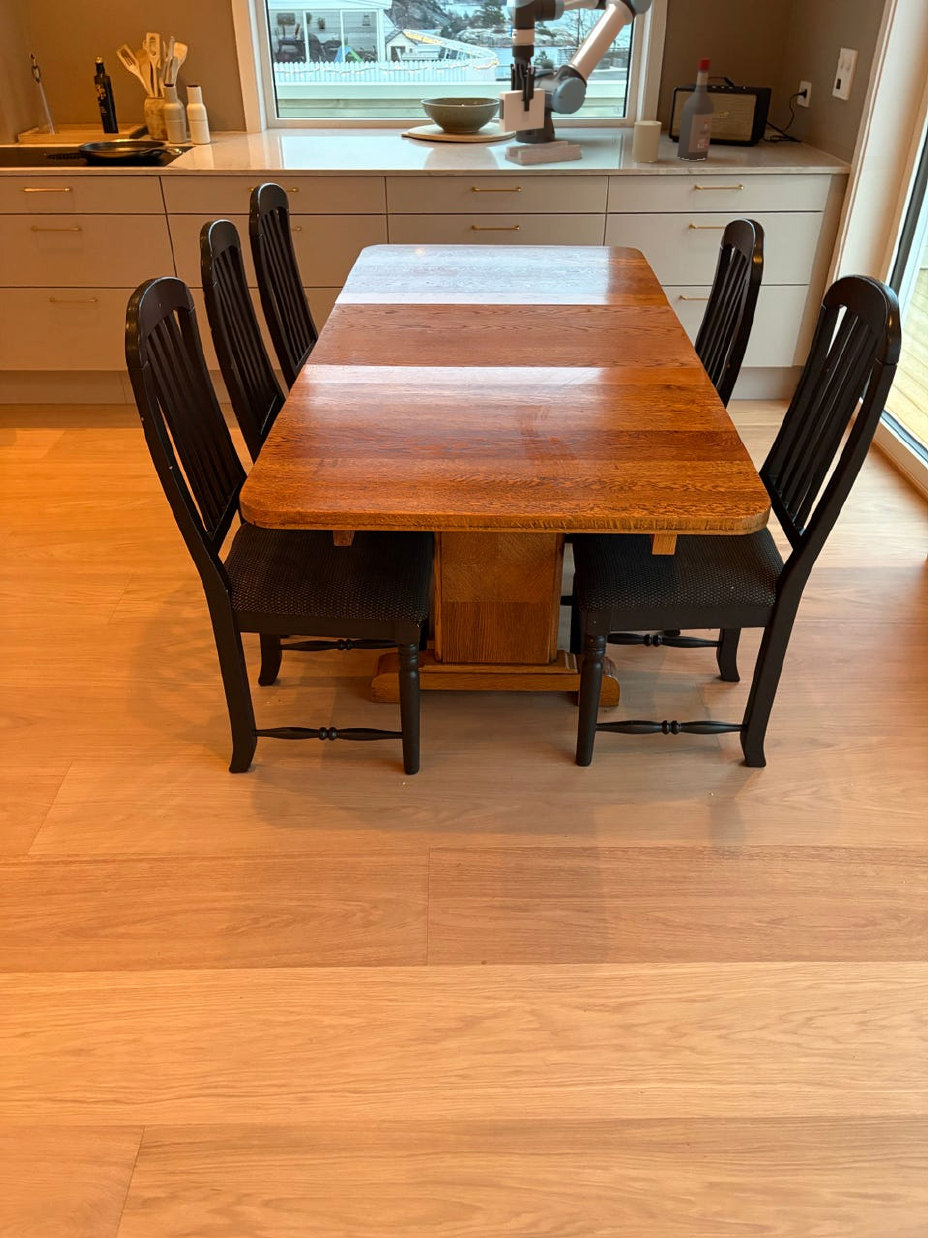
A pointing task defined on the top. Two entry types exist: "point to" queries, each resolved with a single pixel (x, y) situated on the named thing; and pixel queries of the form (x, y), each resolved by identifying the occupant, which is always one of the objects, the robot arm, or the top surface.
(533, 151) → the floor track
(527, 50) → the robot arm
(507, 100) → the door panel
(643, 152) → the can
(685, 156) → the liquor
